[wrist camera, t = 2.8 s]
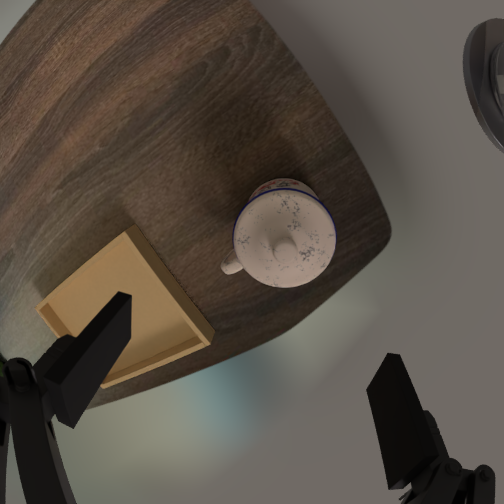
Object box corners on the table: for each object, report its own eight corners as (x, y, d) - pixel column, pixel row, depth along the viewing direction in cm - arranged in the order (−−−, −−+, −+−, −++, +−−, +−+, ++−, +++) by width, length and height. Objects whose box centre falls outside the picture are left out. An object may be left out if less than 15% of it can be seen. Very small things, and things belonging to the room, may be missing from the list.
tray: (135, 223, 37) (124, 230, 34) (215, 330, 42) (210, 344, 39) (44, 298, 43) (34, 307, 40) (110, 377, 48) (103, 388, 45)
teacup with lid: (295, 159, 33) (302, 171, 22) (338, 226, 35) (362, 268, 24) (207, 219, 36) (176, 256, 25) (253, 279, 38) (242, 335, 28)
